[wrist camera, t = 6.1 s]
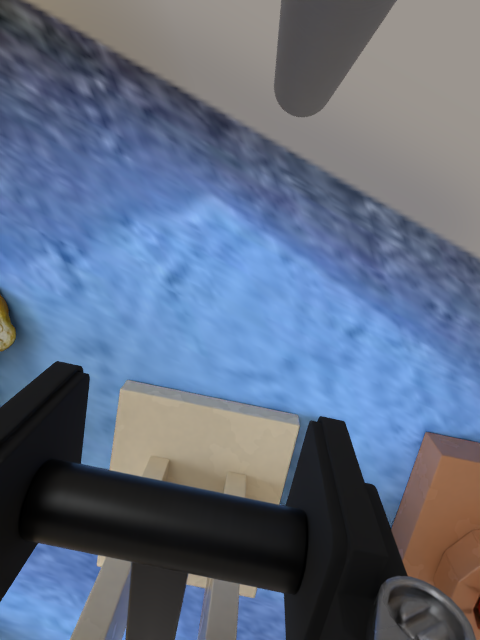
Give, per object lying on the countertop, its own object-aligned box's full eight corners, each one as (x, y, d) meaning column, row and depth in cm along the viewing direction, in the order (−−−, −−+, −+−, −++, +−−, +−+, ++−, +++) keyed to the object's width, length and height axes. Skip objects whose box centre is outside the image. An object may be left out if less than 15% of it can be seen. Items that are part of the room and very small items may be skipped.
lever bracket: (126, 378, 23) (-36, 595, 10) (298, 414, 23) (339, 671, 10) (103, 550, 26) (-44, 874, 13) (255, 581, 26) (246, 932, 13)
